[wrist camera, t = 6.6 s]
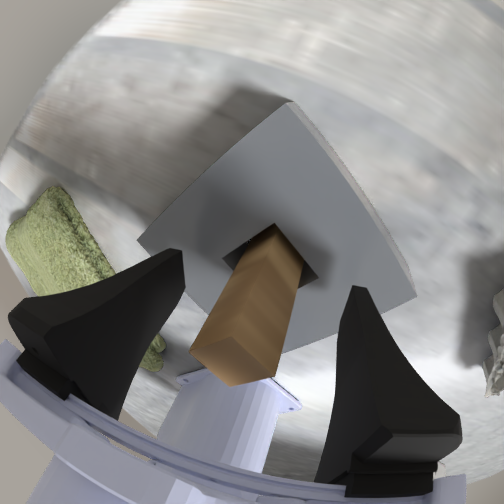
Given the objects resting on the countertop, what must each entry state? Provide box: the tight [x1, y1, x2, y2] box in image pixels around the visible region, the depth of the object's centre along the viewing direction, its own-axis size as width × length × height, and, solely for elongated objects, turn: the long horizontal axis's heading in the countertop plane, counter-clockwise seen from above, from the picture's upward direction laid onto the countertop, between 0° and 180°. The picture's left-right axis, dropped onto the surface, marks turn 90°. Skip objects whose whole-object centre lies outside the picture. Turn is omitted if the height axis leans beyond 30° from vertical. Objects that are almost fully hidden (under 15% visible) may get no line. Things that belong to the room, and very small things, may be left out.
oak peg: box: [189, 223, 304, 387], centre depth 12 cm, size 2×2×8 cm
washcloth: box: [6, 186, 166, 372], centre depth 22 cm, size 13×18×3 cm
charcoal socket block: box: [137, 102, 417, 354], centre depth 14 cm, size 10×10×2 cm
